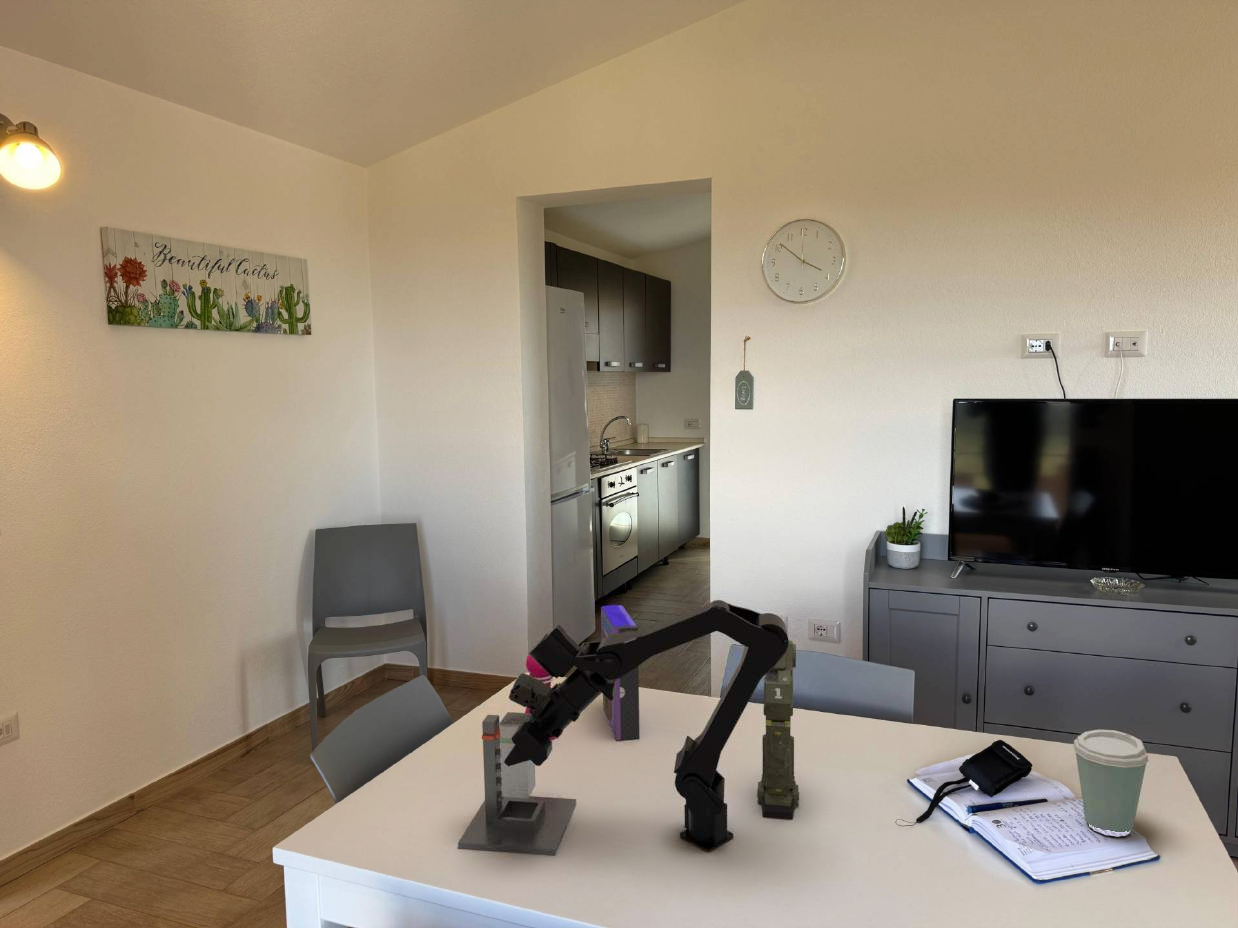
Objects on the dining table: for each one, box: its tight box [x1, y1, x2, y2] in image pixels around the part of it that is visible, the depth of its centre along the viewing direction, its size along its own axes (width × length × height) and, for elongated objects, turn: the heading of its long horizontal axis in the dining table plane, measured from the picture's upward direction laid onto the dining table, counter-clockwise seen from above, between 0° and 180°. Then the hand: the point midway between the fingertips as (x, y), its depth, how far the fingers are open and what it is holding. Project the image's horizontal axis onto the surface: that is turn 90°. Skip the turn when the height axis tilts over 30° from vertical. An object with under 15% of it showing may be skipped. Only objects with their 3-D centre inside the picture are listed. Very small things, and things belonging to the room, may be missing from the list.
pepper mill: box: [524, 654, 557, 741], centre depth 176 cm, size 7×7×20 cm
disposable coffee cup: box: [1072, 729, 1149, 832], centre depth 137 cm, size 11×11×15 cm
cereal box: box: [600, 604, 641, 742], centre depth 181 cm, size 17×5×24 cm, turn 10°
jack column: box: [499, 711, 536, 798], centre depth 140 cm, size 5×5×13 cm
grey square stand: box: [457, 714, 577, 856], centre depth 140 cm, size 16×16×18 cm
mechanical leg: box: [756, 639, 800, 821], centre depth 147 cm, size 14×7×30 cm, turn 168°
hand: (510, 757), depth 140 cm, fingers closed on jack column, 4 cm apart
